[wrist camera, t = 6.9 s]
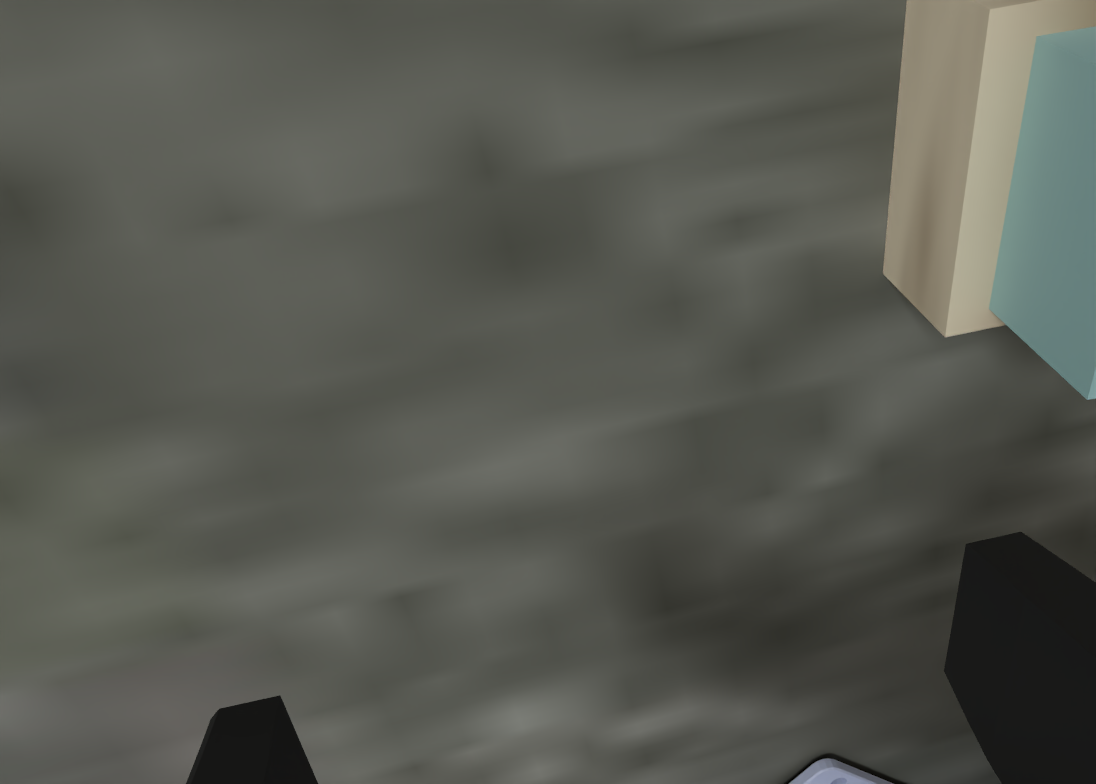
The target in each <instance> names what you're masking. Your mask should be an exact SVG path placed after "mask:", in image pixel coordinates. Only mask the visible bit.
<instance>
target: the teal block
mask: <svg viewBox="0 0 1096 784" xmlns="http://www.w3.org/2000/svg"><path fill="white" fill-rule="evenodd" d="M989 309H990V310H991V311H992V312H993V313H994V314H995V315H996V316H997V317H998V318H999V319H1000V320H1002V321H1003V322H1004V323H1005V324H1006V325H1007V326H1008V327H1009V328H1010V329H1011V330H1012V331H1013V332H1014V333H1016V334H1017V335H1018V336H1019V337H1020V338H1021V339H1022V340H1023V341H1024V342H1025V343H1026V344H1027V345H1028V346H1030V347H1031V348H1032V349H1033V350H1034V351H1035V352H1036V353H1037V354H1038V355H1039V356H1040V357H1041V358H1043V359H1044V360H1045V361H1046V362H1047V363H1048V364H1049V365H1050V366H1051V367H1052V368H1053V369H1054V370H1055V371H1057V372H1058V373H1059V374H1060V375H1061V376H1062V377H1063V378H1064V379H1065V380H1066V381H1067V382H1068V383H1069V384H1071V385H1072V386H1073V387H1074V388H1075V389H1076V390H1077V391H1078V392H1079V393H1080V394H1081V395H1082V396H1084V397H1085V398H1086V399H1087V400H1090V399H1095V398H1096V26H1095V27H1089V28H1083V29H1077V30H1071V31H1065V32H1059V33H1053V34H1047V35H1041V36H1037V37H1036V43H1035V49H1034V54H1033V60H1032V66H1031V71H1030V77H1029V83H1028V88H1027V94H1026V100H1025V105H1024V111H1023V117H1022V122H1021V128H1020V134H1019V139H1018V145H1017V151H1016V157H1015V162H1014V168H1013V174H1012V179H1011V185H1010V191H1009V196H1008V202H1007V208H1006V214H1005V219H1004V225H1003V231H1002V236H1001V242H1000V248H999V253H998V259H997V265H996V271H995V276H994V282H993V288H992V293H991V299H990V305H989Z"/></svg>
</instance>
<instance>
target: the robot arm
mask: <svg viewBox="0 0 1096 784" xmlns="http://www.w3.org/2000/svg"><path fill="white" fill-rule="evenodd" d="M944 672H945V674H946V676H947V678H948V680H949V682H950V684H951V686H952V689H953V691H954V693H955V695H956V697H957V699H958V701H959V703H960V705H961V708H962V710H963V712H964V714H965V716H966V718H967V720H968V722H969V724H970V726H971V728H972V730H973V732H974V734H975V736H976V738H977V740H978V742H979V744H980V746H981V748H982V750H983V752H984V754H985V756H986V758H987V760H988V762H989V763H990V765H991V766H992V768H993V770H994V771H995V773H996V774H997V776H998V778H999V779H1000V781H1001V782H1002V784H1096V583H1095V582H1094V581H1092V580H1091V579H1089V578H1088V577H1087V576H1085V575H1084V574H1082V573H1081V572H1079V571H1078V570H1076V569H1075V568H1073V567H1072V566H1071V565H1069V564H1068V563H1066V562H1065V561H1063V560H1062V559H1060V558H1059V557H1057V556H1056V555H1055V554H1053V553H1052V552H1050V551H1049V550H1047V549H1046V548H1044V547H1043V546H1041V545H1040V544H1038V543H1037V542H1035V541H1034V540H1032V539H1031V538H1029V537H1028V536H1026V535H1025V534H1023V533H1022V532H1018V533H1013V534H1009V535H1004V536H1000V537H995V538H991V539H986V540H982V541H977V542H973V543H968V544H966V547H965V552H964V558H963V564H962V570H961V576H960V582H959V588H958V593H957V599H956V605H955V611H954V617H953V623H952V628H951V634H950V640H949V646H948V652H947V658H946V663H945V669H944ZM186 784H318V783H317V780H316V778H315V776H314V773H313V771H312V769H311V766H310V764H309V762H308V759H307V757H306V755H305V752H304V750H303V748H302V745H301V743H300V741H299V738H298V736H297V734H296V731H295V729H294V727H293V724H292V722H291V720H290V717H289V715H288V713H287V710H286V708H285V706H284V703H283V701H282V699H281V696H276V697H271V698H267V699H262V700H257V701H253V702H248V703H244V704H239V705H235V706H230V707H226V708H221V709H219V710H218V711H217V712H216V713H215V715H214V716H213V717H212V718H211V720H210V723H209V726H208V728H207V731H206V734H205V736H204V739H203V742H202V744H201V747H200V750H199V752H198V755H197V757H196V760H195V762H194V765H193V768H192V770H191V773H190V775H189V778H188V780H187V783H186ZM789 784H893V783H891V782H889V781H886V780H884V779H881V778H879V777H876V776H874V775H871V774H869V773H866V772H864V771H862V770H859V769H857V768H854V767H852V766H849V765H847V764H844V763H842V762H840V761H837V760H835V759H830V758H826V759H821V760H818V761H816V762H815V763H813V764H812V765H810V766H809V767H808V768H807V769H806V770H804V771H803V772H802V773H801V774H800V775H798V776H797V777H796V778H795V779H794V780H792V781H791V782H790V783H789Z"/></svg>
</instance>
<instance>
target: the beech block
mask: <svg viewBox="0 0 1096 784" xmlns="http://www.w3.org/2000/svg"><path fill="white" fill-rule="evenodd" d="M1095 26H1096V0H907V7H906V18H905V29H904V41H903V52H902V63H901V75H900V86H899V97H898V109H897V120H896V131H895V143H894V154H893V165H892V177H891V188H890V199H889V211H888V222H887V233H886V245H885V256H884V267H883V274H884V275H885V276H886V277H887V278H888V279H889V280H890V281H891V283H892V284H893V285H894V286H895V287H896V288H897V289H898V290H899V291H900V292H901V293H902V294H903V295H904V296H905V297H906V298H907V299H908V300H909V301H910V302H911V303H912V304H913V305H914V306H915V307H916V308H917V309H918V310H919V311H920V312H921V313H922V314H923V315H924V316H925V317H926V318H927V319H928V320H929V321H930V322H931V324H932V325H933V326H934V327H935V328H936V329H937V330H938V331H939V332H940V333H941V334H942V335H943V336H944V337H949V336H954V335H959V334H964V333H969V332H974V331H979V330H983V329H988V328H993V327H998V326H1003V325H1006V324H1005V323H1004V322H1003V321H1002V320H1000V319H999V318H998V317H997V316H996V315H995V314H994V313H993V312H992V311H991V310H990V309H989V305H990V299H991V293H992V288H993V282H994V276H995V271H996V265H997V259H998V253H999V248H1000V242H1001V236H1002V231H1003V225H1004V219H1005V214H1006V208H1007V202H1008V196H1009V191H1010V185H1011V179H1012V174H1013V168H1014V162H1015V157H1016V151H1017V145H1018V139H1019V134H1020V128H1021V122H1022V117H1023V111H1024V105H1025V100H1026V94H1027V88H1028V83H1029V77H1030V71H1031V66H1032V60H1033V54H1034V49H1035V43H1036V37H1037V36H1041V35H1047V34H1053V33H1059V32H1065V31H1071V30H1077V29H1083V28H1089V27H1095Z"/></svg>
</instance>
